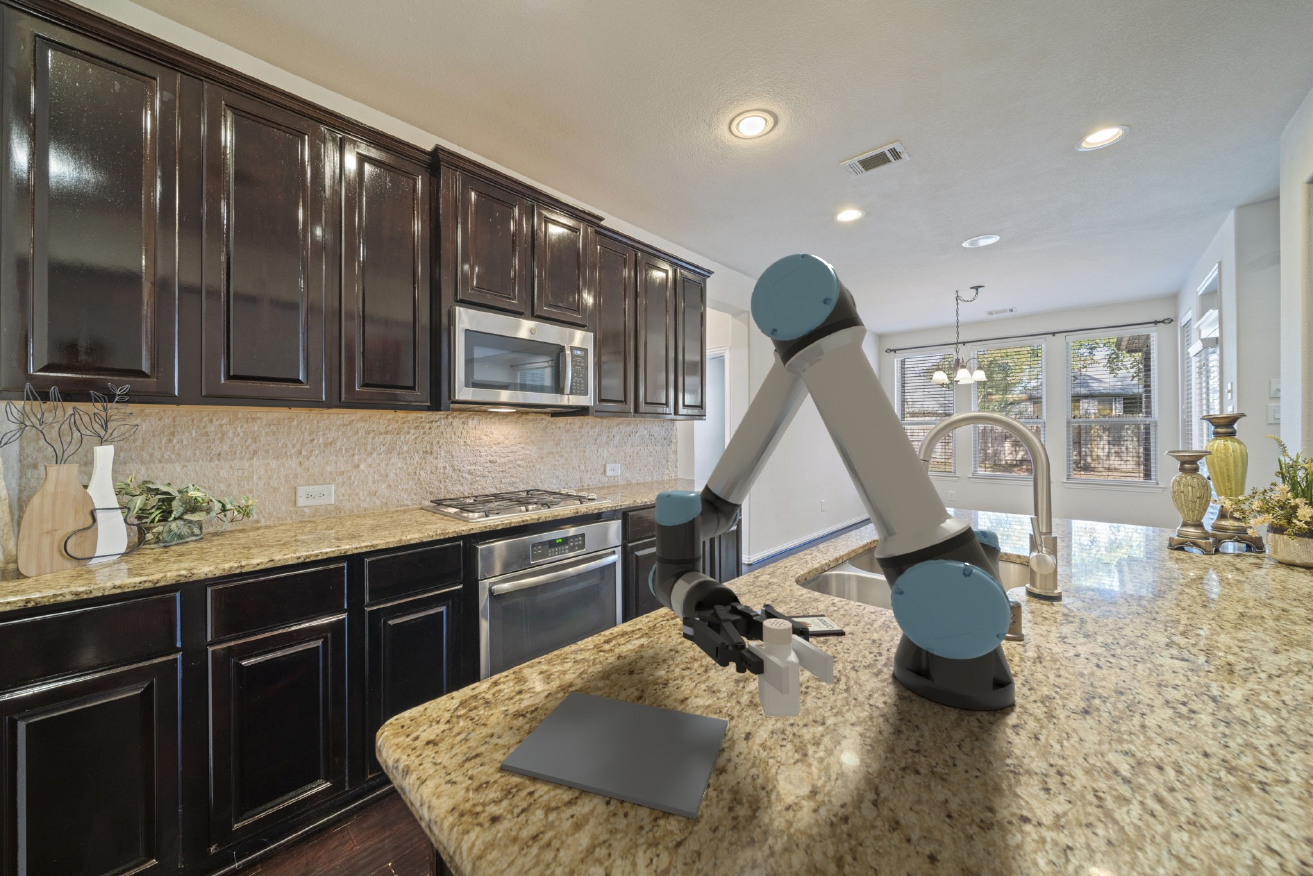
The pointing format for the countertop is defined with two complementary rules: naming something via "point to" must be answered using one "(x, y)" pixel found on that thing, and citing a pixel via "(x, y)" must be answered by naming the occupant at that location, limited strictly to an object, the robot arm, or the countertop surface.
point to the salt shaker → (780, 646)
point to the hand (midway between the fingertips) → (808, 675)
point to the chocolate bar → (818, 625)
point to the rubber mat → (623, 752)
